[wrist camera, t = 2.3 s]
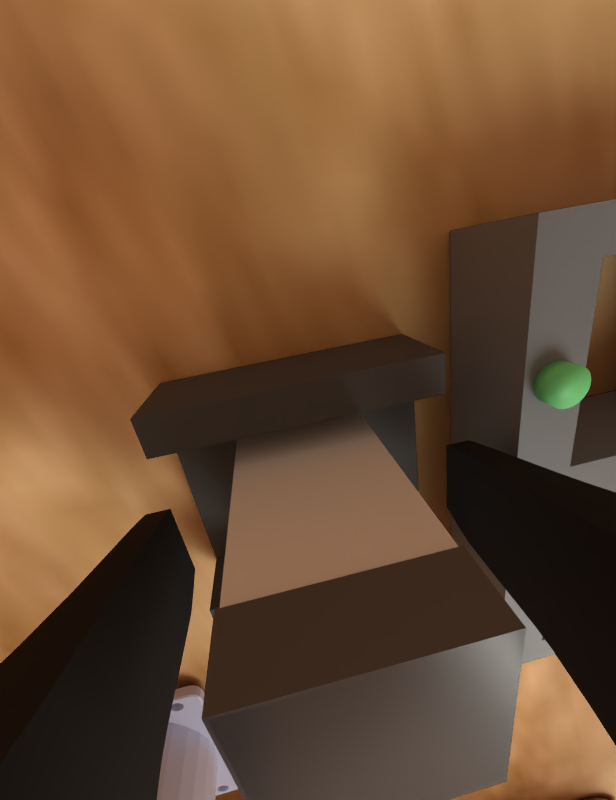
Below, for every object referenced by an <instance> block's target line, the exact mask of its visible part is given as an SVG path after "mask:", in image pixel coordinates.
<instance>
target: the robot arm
mask: <svg viewBox="0 0 616 800" xmlns="http://www.w3.org/2000/svg"><path fill="white" fill-rule="evenodd" d="M446 452H447V508H448V510H449V511H450V513H451V515H452V516H453V518H454V520H455V522H456V523H457V525H458V527H459V528H460V530H461V531H462V533H463V534H464V536H465V538H466V539H467V541H468V542H469V543H470V545H471V546H472V547H473V549H474V550H475V551H476V553H477V554H478V555H479V556H480V558H481V559H482V560H483V561H484V563H485V564H486V565H487V567H488V568H489V569H490V570H491V572H492V573H493V574H494V575H495V577H496V578H497V579H498V580H499V582H500V583H501V584H502V585H503V587H504V588H505V589H506V590H507V592H508V593H509V594H510V595H511V597H512V598H513V599H514V600H515V602H516V603H517V604H518V605H519V607H520V608H521V609H522V610H523V612H524V613H525V614H526V616H527V617H528V618H529V619H530V621H531V622H532V623H533V624H534V626H535V627H536V628H537V629H538V631H539V632H540V634H541V635H542V636H543V638H544V639H545V640H546V642H547V643H548V644H549V646H550V647H551V648H552V650H553V651H554V653H555V654H556V656H557V657H558V659H559V660H560V661H561V663H562V664H563V666H564V667H565V669H566V670H567V672H568V673H569V675H570V676H571V678H572V679H573V681H574V682H575V684H576V685H577V687H578V688H579V690H580V691H581V693H582V694H583V696H584V697H585V699H586V700H587V702H588V703H589V705H590V706H591V708H592V709H593V711H594V712H595V714H596V715H597V717H598V719H599V720H600V722H601V723H602V725H603V726H604V728H605V729H606V731H607V732H608V734H609V736H610V737H611V739H612V740H613V742H614V743H615V745H616V492H613V491H610V490H607V489H604V488H601V487H598V486H595V485H592V484H589V483H586V482H583V481H580V480H577V479H574V478H572V477H569V476H566V475H563V474H560V473H558V472H555V471H552V470H549V469H547V468H544V467H541V466H539V465H536V464H533V463H531V462H528V461H525V460H523V459H520V458H517V457H515V456H512V455H510V454H507V453H504V452H502V451H499V450H496V449H493V448H491V447H488V446H485V445H482V444H479V443H476V442H473V441H469V440H467V441H463V442H459V443H454V444H450V445H446ZM194 575H195V568H194V565H193V563H192V560H191V558H190V556H189V553H188V551H187V548H186V546H185V543H184V541H183V539H182V536H181V534H180V531H179V529H178V527H177V524H176V522H175V519H174V517H173V514H172V512H171V510H170V509H168V510H164V511H160V512H155V513H151V514H147V515H145V516H144V517H143V518H142V519H141V520H140V521H138V522H137V524H136V525H135V526H134V527H133V528H132V529H131V530H130V531H129V532H128V533H127V534H126V535H125V536H124V537H123V538H122V539H121V540H120V542H119V543H118V544H117V545H116V546H115V547H114V548H113V549H112V550H111V551H110V552H109V553H108V555H107V556H106V557H105V558H104V559H103V560H102V561H101V562H100V563H99V564H98V565H97V566H96V567H95V568H94V570H93V571H92V572H91V573H90V574H89V575H88V576H87V577H86V578H85V579H84V580H83V581H82V582H81V583H80V585H79V586H78V587H77V588H76V589H75V590H74V591H73V592H72V593H71V594H70V595H69V596H68V597H67V598H66V599H65V600H64V601H63V602H62V603H61V604H60V605H59V606H58V607H57V608H56V609H55V610H54V611H53V612H52V613H51V614H50V615H49V616H48V617H47V618H46V619H45V620H44V621H43V622H42V623H41V624H40V625H39V626H38V627H37V628H36V629H35V630H34V631H33V632H32V633H31V634H30V635H29V636H28V637H27V638H26V639H25V640H24V641H23V642H22V643H21V644H20V645H19V646H18V647H17V648H16V649H15V650H14V651H13V652H12V653H11V654H10V655H9V656H8V657H7V658H6V659H5V660H4V661H3V662H2V663H1V664H0V800H215V796H216V795H220V794H223V793H226V792H230V791H233V790H236V789H238V787H237V785H236V784H235V782H234V780H233V778H232V776H231V774H230V772H229V770H228V768H227V767H226V765H225V763H224V761H223V759H222V757H221V755H220V753H219V751H218V750H217V748H216V746H215V744H214V742H213V740H212V738H211V736H210V734H209V733H208V731H207V729H206V727H205V725H204V723H203V721H202V711H203V702H204V694H205V693H204V691H203V690H202V689H201V688H200V687H199V686H195V685H190V686H186V687H182V688H178V689H176V685H177V680H178V675H179V670H180V665H181V661H182V656H183V651H184V646H185V641H186V636H187V631H188V626H189V621H190V616H191V610H192V600H193V589H194Z"/></svg>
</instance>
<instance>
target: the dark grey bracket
mask: <svg viewBox="0 0 616 800" xmlns="http://www.w3.org/2000/svg"><path fill="white" fill-rule="evenodd" d="M441 394H446V354H445V352H442V351H440V350H438V349H435V348H433V347H431V346H428V345H426V344H424V343H422V342H419V341H417V340H415V339H412V338H410V337H408V336H405V335H403V334H400V335H395V336H390V337H385V338H380V339H375V340H370V341H366V342H361V343H356V344H351V345H346V346H341V347H336V348H331V349H326V350H321V351H316V352H311V353H307V354H302V355H297V356H292V357H287V358H282V359H277V360H272V361H267V362H262V363H257V364H252V365H248V366H243V367H238V368H233V369H228V370H223V371H218V372H213V373H208V374H203V375H198V376H194V377H189V378H184V379H179V380H174V381H169V382H164V383H160V384H159V385H158V387H157V388H156V389H155V390H154V391H153V392H152V394H151V395H150V396H149V397H148V398H147V400H146V401H145V402H144V403H143V404H142V406H141V407H140V408H139V409H138V410H137V412H136V413H135V414H134V415H133V416H132V418H131V419H130V420H131V422H132V424H133V427H134V429H135V432H136V434H137V436H138V439H139V441H140V444H141V446H142V449H143V451H144V453H145V456H146V458H147V459H150V458H155V457H159V456H164V455H168V454H173V453H178V456H179V459H180V461H181V464H182V467H183V469H184V472H185V475H186V478H187V480H188V483H189V486H190V488H191V491H192V494H193V496H194V499H195V502H196V504H197V507H198V510H199V513H200V515H201V518H202V521H203V523H204V526H205V529H206V531H207V534H208V537H209V539H210V542H211V545H212V548H213V550H214V553H215V556H216V558H217V560H216V568H215V575H214V583H213V590H212V598H211V605H210V612H211V614H212V617H213V618H214V610H215V609H218V608H220V598H221V589H222V579H223V569H224V560H225V550H226V541H227V531H228V522H229V512H230V503H231V493H232V483H233V474H234V464H235V455H236V445H237V439H241V438H246V437H250V436H255V435H259V434H264V433H268V432H273V431H278V430H282V429H287V428H291V427H296V426H300V425H305V424H309V423H314V422H319V421H323V420H328V419H332V418H337V417H341V416H346V415H350V414H355V413H360V414H361V415H362V416H363V418H364V419H365V421H366V422H367V423H368V425H369V426H370V427H371V429H372V430H373V431H374V433H375V434H376V435H377V437H378V438H379V440H380V441H381V442H382V444H383V445H384V446H385V448H386V449H387V450H388V452H389V453H390V454H391V456H392V457H393V458H394V460H395V461H396V463H397V464H398V465H399V467H400V468H401V469H402V471H403V472H404V473H405V475H406V476H407V477H408V479H409V480H410V482H411V483H412V484H413V486H414V487H415V488H416V490H417V491H418V473H417V452H416V432H415V411H414V400H419V399H423V398H428V397H432V396H437V395H441Z"/></svg>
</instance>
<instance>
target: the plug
mask: <svg viewBox="0 0 616 800" xmlns="http://www.w3.org/2000/svg"><path fill="white" fill-rule="evenodd" d="M525 633H526V627H525V626H524V624H523V623H522V622H521V621H520V619H519V618H518V617H517V615H516V614H515V613H514V611H513V610H512V609H511V607H510V606H509V605H508V603H507V602H506V601H505V599H504V598H503V597H502V596H501V594H500V593H499V592H498V590H497V589H496V588H495V586H494V585H493V584H492V582H491V581H490V580H489V578H488V577H487V576H486V574H485V573H484V572H483V570H482V569H481V568H480V567H479V565H478V564H477V563H476V561H475V560H474V559H473V557H472V556H471V555H470V553H469V552H468V551H467V549H466V548H465V547H464V545H463V546H459V547H458V545H457V544H456V542H455V541H454V540H453V538H452V537H451V536H450V534H449V533H448V532H447V530H446V529H445V528H444V526H443V525H442V524H441V522H440V521H439V519H438V518H437V517H436V515H435V514H434V513H433V511H432V510H431V509H430V507H429V506H428V505H427V503H426V502H425V500H424V499H423V498H422V496H421V495H420V494H419V492H418V491H417V490H416V488H415V487H414V486H413V484H412V483H411V482H410V480H409V479H408V477H407V476H406V475H405V473H404V472H403V471H402V469H401V468H400V467H399V465H398V464H397V463H396V461H395V460H394V458H393V457H392V456H391V454H390V453H389V452H388V450H387V449H386V448H385V446H384V445H383V444H382V442H381V441H380V440H379V438H378V437H377V435H376V434H375V433H374V431H373V430H372V429H371V427H370V426H369V425H368V423H367V422H366V421H365V419H364V418H363V416H362V415H361V414H360V413H355V414H350V415H346V416H341V417H337V418H332V419H328V420H323V421H319V422H314V423H309V424H305V425H300V426H296V427H291V428H287V429H282V430H278V431H273V432H268V433H264V434H259V435H255V436H250V437H246V438H241V439H237V445H236V455H235V464H234V474H233V483H232V493H231V503H230V512H229V522H228V531H227V541H226V550H225V560H224V569H223V579H222V589H221V598H220V608H218V609H215V610H214V618H213V626H212V635H211V643H210V652H209V660H208V669H207V677H206V685H205V694H204V702H203V711H202V721H203V723H204V725H205V727H206V729H207V731H208V733H209V734H210V736H211V738H212V740H213V742H214V744H215V746H216V748H217V750H218V751H219V753H220V755H221V757H222V759H223V761H224V763H225V765H226V767H227V768H228V770H229V772H230V774H231V776H232V778H233V780H234V782H235V784H236V785H237V787H238V789H239V791H240V793H241V795H242V797H243V799H244V800H450V799H453V798H456V797H459V796H462V795H466V794H469V793H472V792H475V791H478V790H481V789H484V788H488V787H491V786H494V785H497V784H500V783H503V782H506V780H507V772H508V764H509V756H510V749H511V741H512V733H513V726H514V718H515V710H516V703H517V695H518V687H519V679H520V672H521V664H522V656H523V649H524V641H525Z"/></svg>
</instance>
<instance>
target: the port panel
mask: <svg viewBox="0 0 616 800" xmlns="http://www.w3.org/2000/svg"><path fill="white" fill-rule="evenodd" d="M611 255H616V199H612V200H607V201H601V202H596V203H590V204H585V205H579V206H574V207H568V208H563V209H557V210H552V211H546V212H540V213H535V214H530V215H526V216H521V217H516V218H511V219H506V220H501V221H496V222H491V223H486V224H481V225H476V226H471V227H466V228H462V229H457V230H452V231H450V331H451V444H454V443H459V442H463V441H467V440H469V441H473V442H476V443H479V444H482V445H485V446H488V447H491V448H493V449H496V450H499V451H502V452H504V453H507V454H510V455H512V456H515V457H517V458H520V459H523V460H525V461H528V462H531V463H533V464H536V465H539V466H541V467H544V468H547V469H549V470H552V471H555V472H558V473H560V474H563V475H566V476H569V477H572V478H574V479H577V480H580V481H583V482H586V483H589V484H592V485H595V486H598V487H601V488H604V489H607V490H610V491H613V492H616V391H612V392H607V393H603V394H598V395H594V396H590V397H585V395H586V394H587V392H588V390H589V388H590V385H591V374H590V372H589V370H588V369H587V368H586V364H587V357H588V351H589V345H590V339H591V332H592V326H593V320H594V314H595V308H596V301H597V295H598V289H599V283H600V277H601V270H602V264H603V258H604V257H606V256H611ZM584 397H585V398H584ZM451 537H452V538H453V540H454V541H455V542H456V544H457V545H458V547H459V546H463V545H464V547H465V548H466V549H467V551H468V552H469V553H470V555H471V556H472V557H473V559H474V560H475V561H476V563H477V564H478V565H479V567H480V568H481V569H482V570H483V572H484V573H485V574H486V576H487V577H488V578H489V580H490V581H491V582H492V584H493V585H494V586H495V588H496V589H497V590H498V592H499V593H500V594H501V596H502V597H503V598H504V599H505V601H506V602H507V603H508V605H509V606H510V607H511V609H512V610H513V611H514V613H515V614H516V615H517V617H518V618H519V619H520V621H521V622H522V623H523V624H524V626H525V627H526V633H525V641H524V649H523V656H522V664H523V663H526V662H530V661H533V660H537V659H540V658H543V657H547V656H550V655H554V654H555V653H554V651H553V650H552V648H551V647H550V646H549V644H548V643H547V642H546V640H545V639H544V638H543V636H542V635H541V634H540V632H539V631H538V629H537V628H536V627H535V626H534V624H533V623H532V622H531V621H530V619H529V618H528V617H527V616H526V614H525V613H524V612H523V610H522V609H521V608H520V607H519V605H518V604H517V603H516V602H515V600H514V599H513V598H512V597H511V595H510V594H509V593H508V592H507V590H506V589H505V588H504V587H503V585H502V584H501V583H500V582H499V580H498V579H497V578H496V577H495V575H494V574H493V573H492V572H491V570H490V569H489V568H488V567H487V565H486V564H485V563H484V561H483V560H482V559H481V558H480V556H479V555H478V554H477V553H476V551H475V550H474V549H473V547H472V546H471V545H470V543H469V542H468V541H467V539H466V538H465V536H464V534H463V533H462V531H461V530H460V528H459V527H458V525H457V523H456V522H455V520H454V518H453V516H452V515H451Z"/></svg>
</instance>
